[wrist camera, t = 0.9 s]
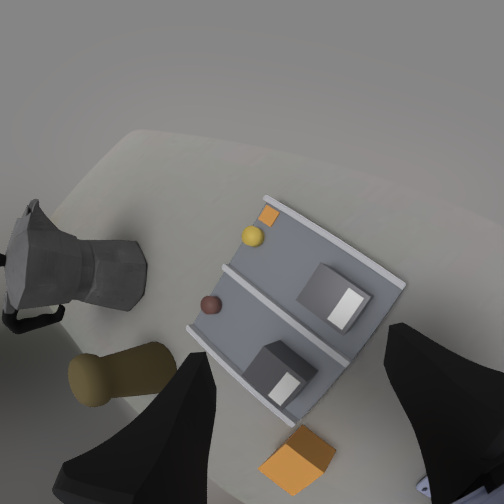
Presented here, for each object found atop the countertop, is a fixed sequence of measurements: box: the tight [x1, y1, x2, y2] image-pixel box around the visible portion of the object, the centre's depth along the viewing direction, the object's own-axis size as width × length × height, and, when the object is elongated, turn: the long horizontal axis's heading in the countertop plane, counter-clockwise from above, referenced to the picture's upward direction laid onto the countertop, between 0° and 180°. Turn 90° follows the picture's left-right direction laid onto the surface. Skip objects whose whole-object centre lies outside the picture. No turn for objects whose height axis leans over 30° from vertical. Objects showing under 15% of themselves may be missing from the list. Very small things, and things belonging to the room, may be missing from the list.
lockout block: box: [258, 424, 336, 496], centre depth 20 cm, size 4×4×4 cm
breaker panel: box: [185, 195, 406, 428], centre depth 23 cm, size 13×14×2 cm
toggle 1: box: [242, 340, 318, 410], centre depth 20 cm, size 4×3×3 cm
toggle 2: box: [296, 262, 374, 336], centre depth 19 cm, size 4×3×3 cm
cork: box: [68, 342, 177, 407], centre depth 25 cm, size 6×6×11 cm
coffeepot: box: [0, 199, 147, 334], centre depth 27 cm, size 15×9×18 cm, turn 150°
